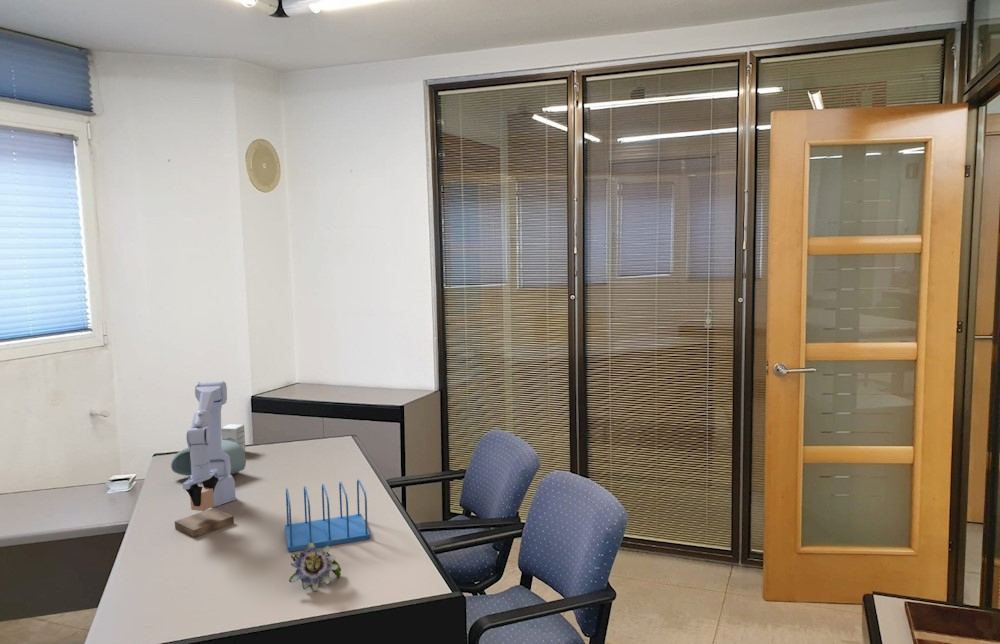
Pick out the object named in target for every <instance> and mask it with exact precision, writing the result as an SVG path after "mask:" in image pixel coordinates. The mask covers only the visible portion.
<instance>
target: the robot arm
mask: <svg viewBox="0 0 1000 644" xmlns="http://www.w3.org/2000/svg"><path fill="white" fill-rule="evenodd" d="M227 388H228V386H227V383H226V382H225V381H223V380H222V381H210V382H209V381H208V382H196V384H195V387H194V395H195V398H196V400H197V401H198V411H196V412H195V413H194V414H193V419H192V422H191V426H190V428H189V429H188V430H187V432H186V444H187V448H188V450H189V451H190V458H191V472H192V475H190V476H189V478H188V479H187V480H186V481H184V482H183V483H182V489H183V490H185V491H186V492H187V493H188V495H189V498H190V497H191V499H192V502H193V505H194V506H198V507H199V506H200V504H201V491H202V488H203V487H205V488H213V495H214V506H213V507H212V508H216V507H218V506H221V505H223V504H227V503H229V502H233V501H236V500H237V499H238V498H237V497H236V496H237V495H236V483H235V482H236V481H235V479H234V477H233V475H232V474H230V472H231V463H230V457H229V455H228V454H227V453H225V452H224V451H222V449H221V439H222V437H221V428H222V407H223V405H225V404H226V403H227V400H228V391H227V390H228V389H227ZM210 459H223V460H212V461H210ZM201 483H202V486H199V484H201Z"/></svg>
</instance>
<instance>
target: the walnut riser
mask: <svg viewBox="0 0 1000 644" xmlns="http://www.w3.org/2000/svg"><path fill="white" fill-rule="evenodd" d="M234 523H235V518H234V515H232V514H229V513H227V512H225V511H222V510H221V509H218V508H216V507H211V508H209V509H207V510H205V511H200V512H198V513H195V514H192V515H189V516H186V517H184V518H180V519H177V520H175V521H174V529H176V530H178V531H179V532H180V533H184V534H186V535H188V536H190V537H191V538H195V539H196V538H197V537H201V536H202V535H203V536H204V535H206V534H208V533H211V532H214V531H216V530H219V529H221V528H225V527H228V526H230V525H232V524H234Z"/></svg>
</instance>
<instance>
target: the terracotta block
mask: <svg viewBox="0 0 1000 644" xmlns="http://www.w3.org/2000/svg"><path fill="white" fill-rule="evenodd" d="M202 487H203V488H202V491H201V504H200V506H199V507H198V506H194V505H193V502H192V499H191V497H190V496H189V498H190V509H191V511H200V512H203V511H206V510H209V509H212V508H214V507H213V506H214V495H213V488H205V487H204V486H202Z"/></svg>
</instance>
